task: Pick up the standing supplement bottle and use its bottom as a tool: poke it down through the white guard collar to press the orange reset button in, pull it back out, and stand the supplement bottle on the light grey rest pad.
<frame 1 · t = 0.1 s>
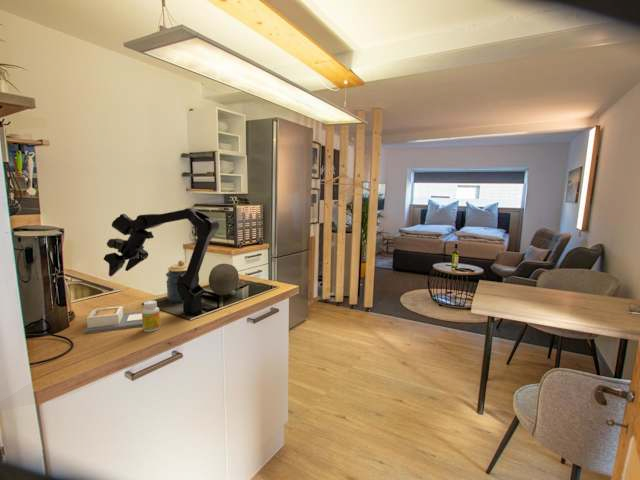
hand: (118, 273, 131), 15 cm above the table, tool tilted 35°, fingers open, 9 cm apart
canister: (182, 298, 147), on the table
supplement bottle: (151, 329, 114), on the table
breaker panel: (121, 322, 119), on the table
reset button: (106, 315, 117), point 3 cm above the table, slide at 0.0 cm
cantaloupe: (224, 295, 152), on the table
rest pad: (138, 320, 121), resting on breaker panel
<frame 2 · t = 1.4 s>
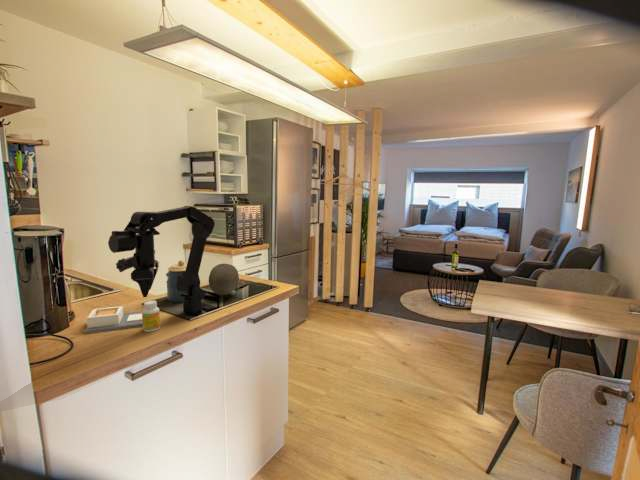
hand: (147, 293, 112), 13 cm above the table, tool pointing down, fingers open, 9 cm apart
nothing on the table moved.
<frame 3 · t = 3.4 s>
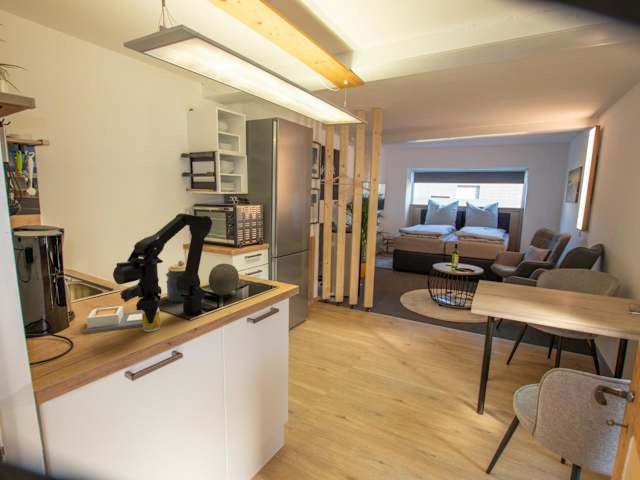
hand: (151, 320, 113), 3 cm above the table, tool pointing down, fingers closed on supplement bottle, 5 cm apart
supplement bottle: (151, 329, 114), on the table, touching gripper
everything else where it was.
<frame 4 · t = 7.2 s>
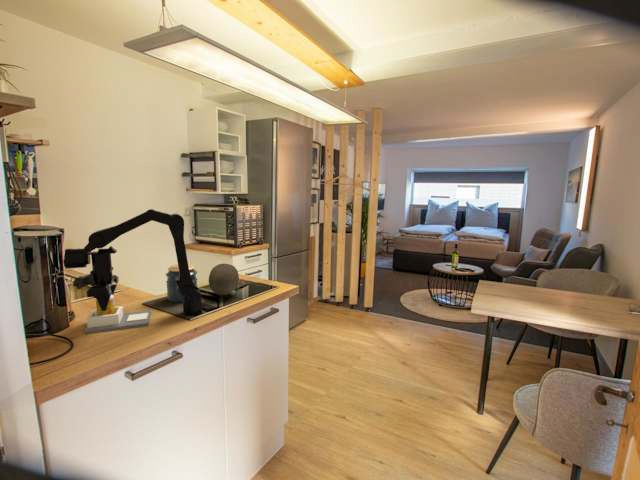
hand: (105, 308, 117), 6 cm above the table, tool pointing down, fingers closed on supplement bottle, 5 cm apart
supplement bottle: (106, 316, 117), point 3 cm above the table, touching gripper, reset button
reset button: (106, 318, 117), point 2 cm above the table, slide at -1.1 cm, touching supplement bottle
everything else where it was.
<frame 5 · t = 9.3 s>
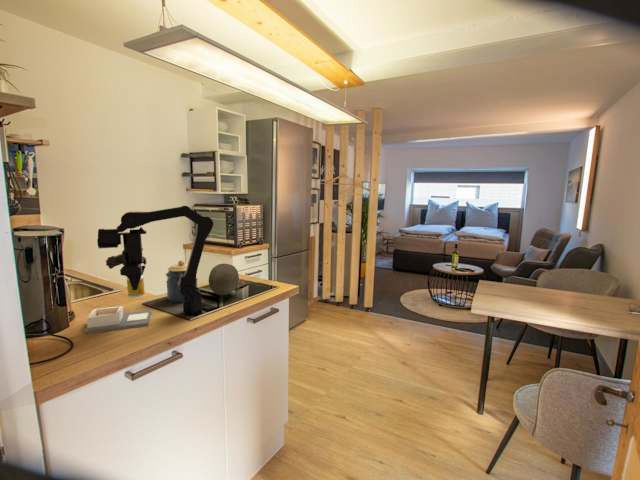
hand: (136, 288, 119), 12 cm above the table, tool pointing down, fingers closed on supplement bottle, 5 cm apart
supplement bottle: (136, 296, 120), point 9 cm above the table, touching gripper
reset button: (106, 318, 117), point 2 cm above the table, slide at -1.1 cm
everything else where it was.
when the fingers open (5 cm above the table, at t = 10.9 s): supplement bottle drops 1 cm, resting on rest pad.
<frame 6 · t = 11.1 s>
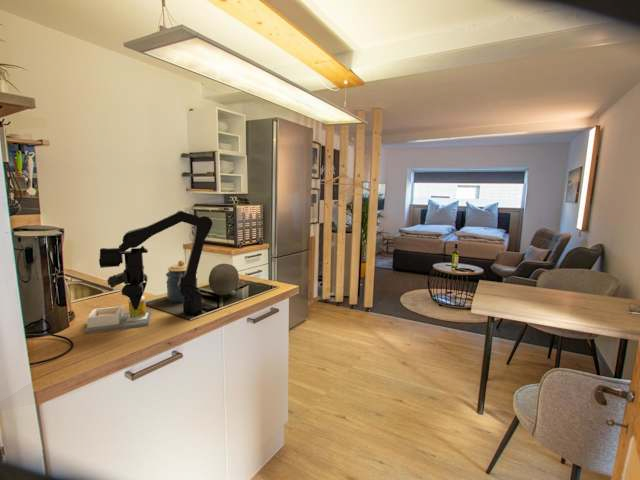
hand: (137, 306, 120), 5 cm above the table, tool pointing down, fingers open, 7 cm apart
supplement bottle: (138, 317, 121), point 1 cm above the table, touching rest pad
everything else where it was.
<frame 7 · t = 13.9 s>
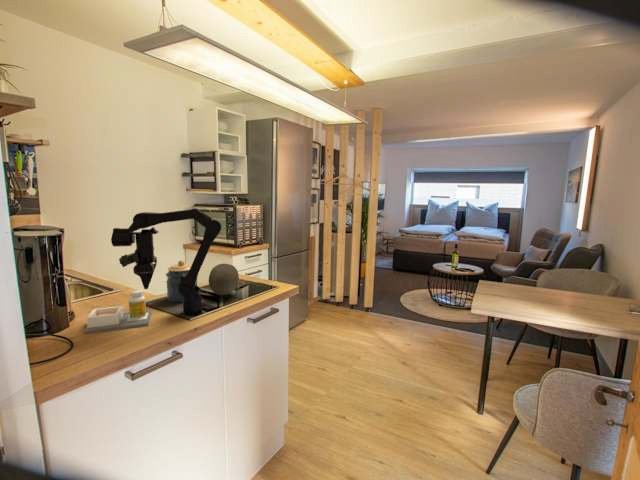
hand: (147, 285, 124), 12 cm above the table, tool pointing down, fingers open, 9 cm apart
nothing on the table moved.
at the end: reset button slide at -1.1 cm; supplement bottle 0.2 cm from the rest pad (horizontally); supplement bottle tilted 0° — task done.
